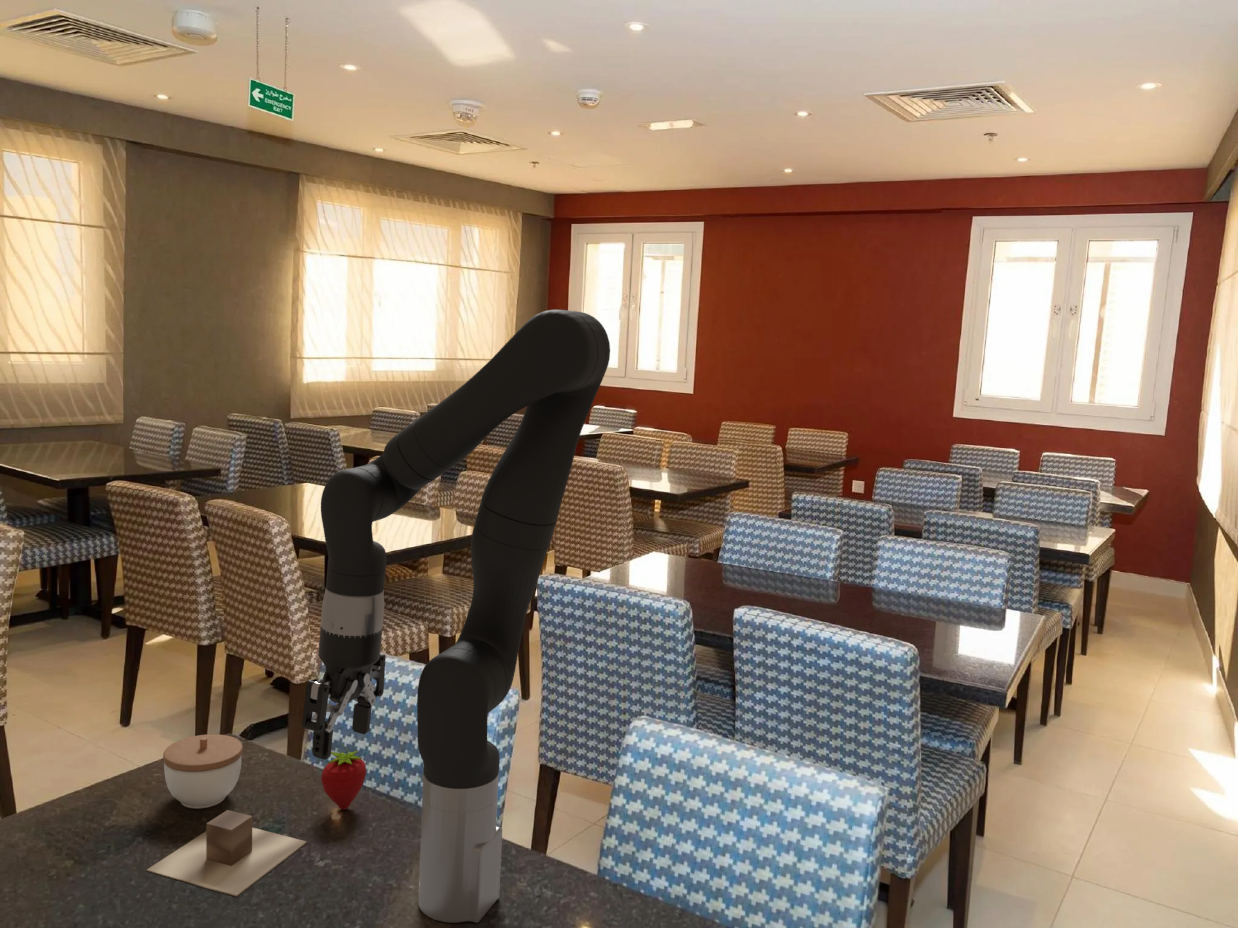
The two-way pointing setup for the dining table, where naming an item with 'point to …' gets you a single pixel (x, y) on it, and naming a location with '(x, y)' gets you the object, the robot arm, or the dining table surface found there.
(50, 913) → the dining table surface
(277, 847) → the lid
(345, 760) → the strawberry
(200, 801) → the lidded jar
